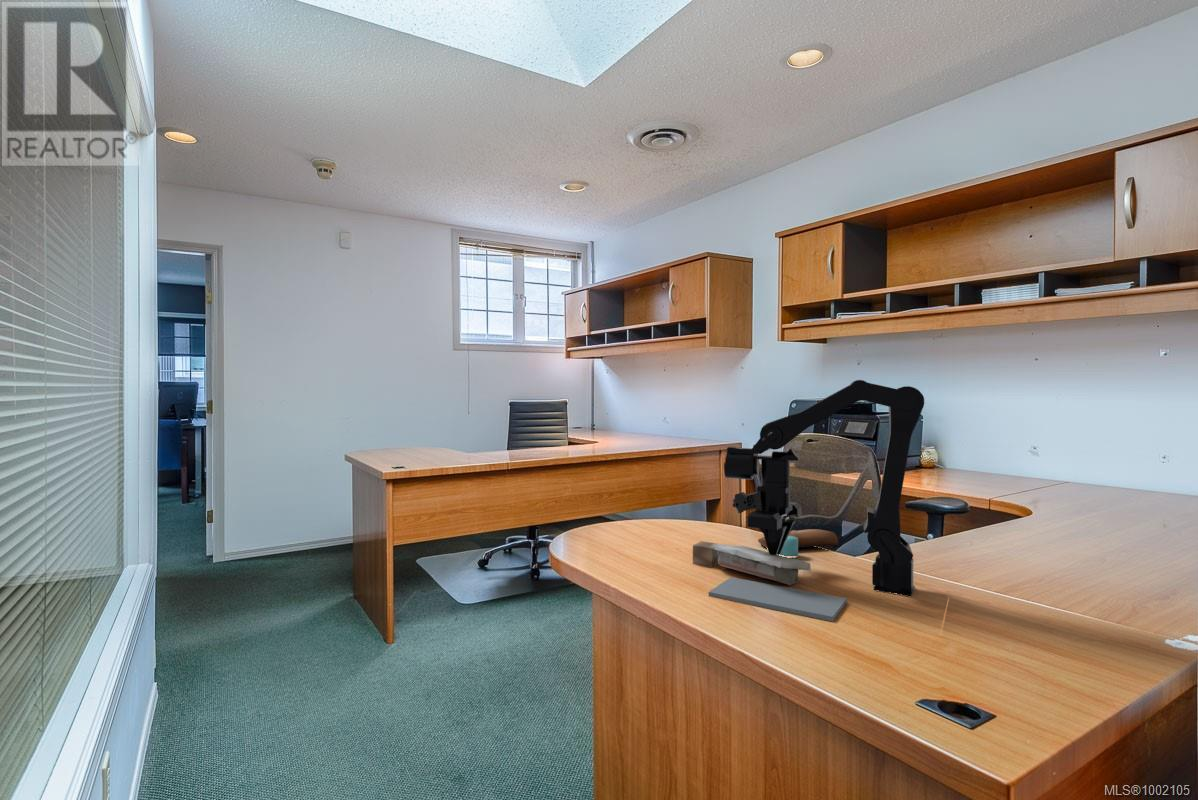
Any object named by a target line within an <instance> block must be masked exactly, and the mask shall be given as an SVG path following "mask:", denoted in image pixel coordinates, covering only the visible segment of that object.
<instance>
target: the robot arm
mask: <svg viewBox="0 0 1198 800" xmlns="http://www.w3.org/2000/svg"><path fill="white" fill-rule="evenodd" d="M859 401H865V402H868V403H873V404H877V405H881V406H885V407H888V421H889V435H888V436H889V437H888V441H887V447H886V453H885V459H884V465H883V471H882V477H881V482H880V488H879V494H878V500H877V502H876V504H875V506H874V508H871V507H869V506H867V507H866V521H865V523H864V524H863V532H864V534H866V536H867V537H866V538H867V541H868V542H867V543H868V544H869V545H870V547H871V548H872V549H873V550H875V551H876V552H878V554H877V555H876V556H875V561H874V562H873V564H872V577H871V579H872V583H871V584H872V585H873V591H874V590H879V591H884V592H883V593H885V592H891V593H897V594H902V595H908V596H911V595H912V596H913V594H912V593H914V592H915V588H916V587H915V585H914V553H913V551H912V549H911V546H910V543H909V542H907V540H906V539H904V538H903V537H902V536H901V516H900V515H901V514H900V505H901V504H900V503H901V499H902V498H901V497H902V491H903V487H904V486H903V485H904V480H905V474H906V468H907V462H908V456H909V451H910V445H911V439H912V435H913V433H914V431H915V429H916V426H917V424H918V422H919V419H920V417H921V414H922V411H923V409H924V405H925V397H924V395H923V393H922V392H921V391H920V390H919V389H918V388H916V387H913V386H909V385H908V386H902V387H901V386H900V387H898V388H893V387H889V386H885V385H879V384H875V383H872V382H871V383H870V382H867V381H866V380H863V379H857V380H854V381H852V382H851V383H850V384H849V385H847V386H845V387H843V388H841V389H840V390H838V391H836V392H834V393H832V394H830V395H829V396H826V397H824V398H823V399H821V400H819V401H817V402H816V403H814V404H812V405H810V406H808V407H806V408H805V409H803V410H800V411H799V412H797V413H794V414H790V415H787V416H784V417H781V418H778V419H776V420H773V421H772V420H771V421H770V422H767V423H765V424H764V425H763V426H762V427H761V429H760V432H759V439H758V440H757V441H756V443H755V444H753V446H752V448H748V447H746V448H745V447H737V446H728V447H727V448H726V454H725V459H724V460H725V461H724V463H723V471H724V473H723V474H724V476H725V479H736V480H737V479H738V480H750V481H751V480H754V477H755V476H759V475H761V478H760V479H761V480H760V484H759V485H758V486H757V487H756V491H755V492H753V493H749V494H746V492H745V491H742V492H739V493H736V494H734V498H733V499H732V502H733V503H732V507H733V508H736V510H737V514H742V513H744V512H745V511H750V510H753V509H755V510H754V511H752V512H750V513H749V514H748V515H746V517H745V521H746V523H745V526H746V527H747V528H754V529H758V530H760V532H762V534H763V537H765V541H766V544H767V548H768V550H767V552H769V554H771V555H779V554H780V553H781V551H782V549H783V546H784V544H785V542H786V540H787V538H788V536H789V533H790V531H792V530H793V527H794V525H795V524H796V520H795V519H790V517H789V515H791V516H792V515H793V516H795V518H800V517H802V515H803V514H802V513H803V512H802V511H803V509H802V506H801V504H799V502H794V501H793V502H792V501H790V500H791V499H790V495H791V494H790V493H791V492H793V485H791V484H790V483H791V482H790V481H791V478H790V477H791V473H790V472H791V465H790V464H791V461H792V462H793V461H796V462H797V461H799V460H800V456H799V454H797V453H796V452H795V451H794V448H789V449H788V450H787V451H775V450H780V449H782V448H783V447H785V446H786V445H788V444H789V443H790V442H791V441H793V440H794V439H795V438H797V437H798V436H799V435H801V434H802V433H803V432H804V431H806V430H808V428H809V427H812V426H813V425H816V424H818V423H820V422H821V421H823V420H825V419H827V418H828V417H831V416H832V415H834V414H837V413H838V412H841V411H842V410H844V409H846V408H848V407H850V406H852V405H853V404H855V403H857V402H859ZM768 450H774V451H772V452H771V455H762V454H763V453H765V452H767V451H768ZM760 460H761V463H760ZM760 464H761V465H760ZM760 466H761V467H760ZM760 468H761V471H760ZM760 472H761V473H760ZM879 591H878V592H879ZM913 591H914V592H913ZM902 595H901V596H902ZM908 596H907V597H908ZM912 596H911V597H912Z"/></svg>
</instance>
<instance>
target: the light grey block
mask: <svg viewBox="0 0 1198 800" xmlns="http://www.w3.org/2000/svg"><path fill="white" fill-rule="evenodd" d="M711 549H715V550H718V552H717V557H718V564H717V565H719V566H721V567H725V568H728V569H731V570H735V571H738V572H741V573H746V574H749V575H753V576H756V577H760V578H762V579H767V580H771V581H775V582H778V583H781V584H783V585H784V584H785V585H789V586H792V585H793V584H795V583H798V581H799V571H802V570H803V571H807V572H810V571H811V563H810V562H807V561H804V560H800V559H797V558H787V557H782V556H779V555H778V554H777V555H771V554H769V551H765V550H761V549H757V548H754V547H748V546H744V545H736V544H734V545H733V544H720V543H716V544H714V545H712V546H711Z"/></svg>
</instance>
